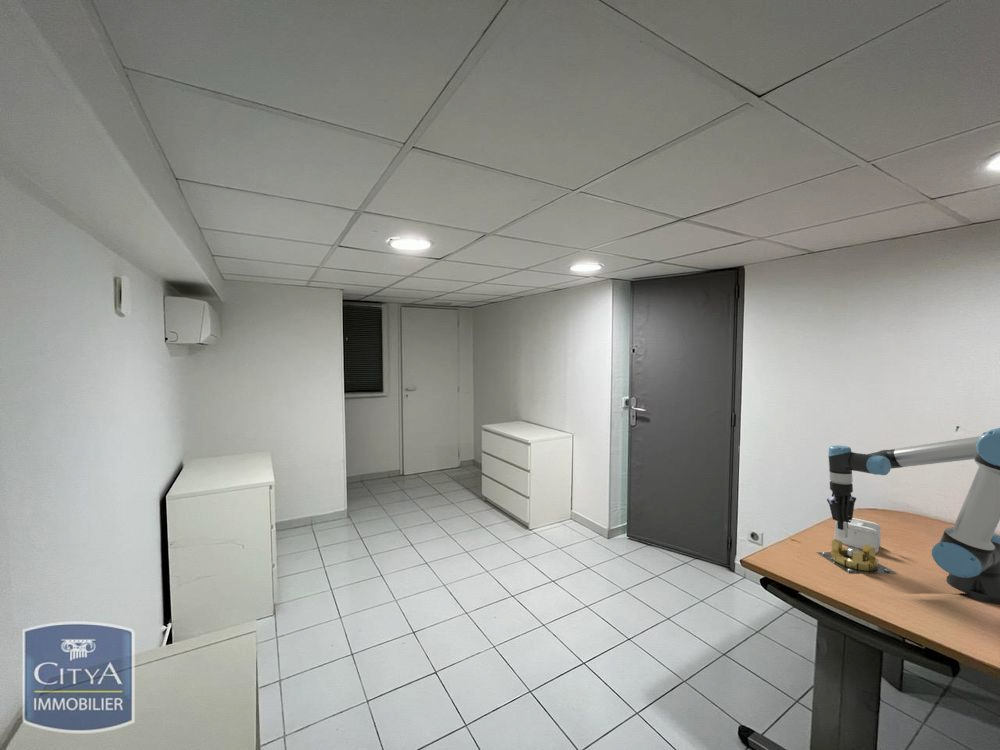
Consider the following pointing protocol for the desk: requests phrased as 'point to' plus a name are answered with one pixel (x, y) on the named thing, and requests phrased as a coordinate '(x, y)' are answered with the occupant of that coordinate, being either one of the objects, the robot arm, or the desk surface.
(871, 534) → the cable organizer
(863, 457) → the robot arm
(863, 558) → the ring nut
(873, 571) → the flange
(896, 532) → the desk surface
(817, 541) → the desk surface
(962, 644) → the desk surface
